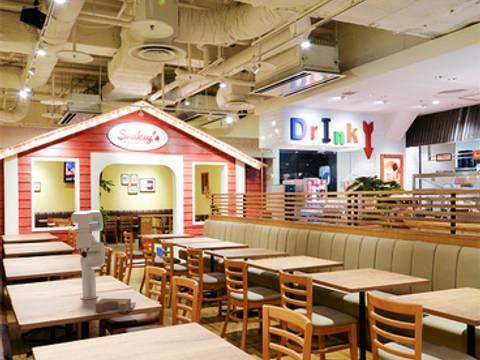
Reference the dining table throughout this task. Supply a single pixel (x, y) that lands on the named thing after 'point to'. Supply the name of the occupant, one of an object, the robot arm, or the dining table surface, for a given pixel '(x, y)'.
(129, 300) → the decorative block
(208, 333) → the dining table surface
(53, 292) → the dining table surface
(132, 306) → the mat
